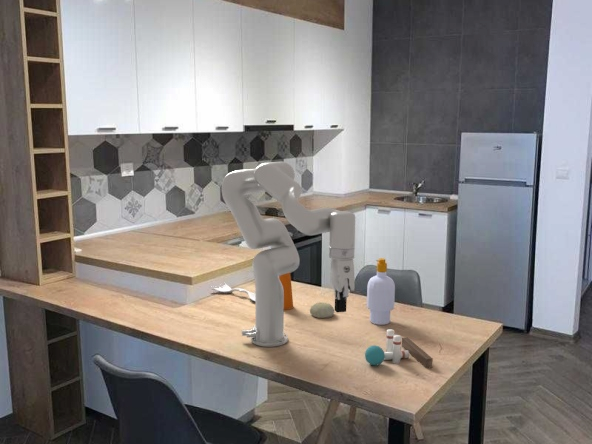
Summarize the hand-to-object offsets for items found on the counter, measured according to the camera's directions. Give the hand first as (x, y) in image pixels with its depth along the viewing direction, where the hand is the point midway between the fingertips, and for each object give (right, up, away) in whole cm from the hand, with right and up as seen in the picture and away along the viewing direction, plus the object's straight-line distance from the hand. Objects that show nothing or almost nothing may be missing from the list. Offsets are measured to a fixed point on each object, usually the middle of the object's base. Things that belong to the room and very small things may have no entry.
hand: (340, 311), depth 180 cm
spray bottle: (-19, -7, +55) cm, 59 cm away
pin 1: (+17, -16, +10) cm, 25 cm away
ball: (+11, -14, +2) cm, 18 cm away
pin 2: (+18, -17, +5) cm, 25 cm away
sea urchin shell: (-3, -9, +48) cm, 49 cm away
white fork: (-36, -5, +70) cm, 79 cm away
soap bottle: (+18, -10, +41) cm, 46 cm away
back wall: (+25, -16, +9) cm, 31 cm away
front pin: (+14, -15, +6) cm, 21 cm away
